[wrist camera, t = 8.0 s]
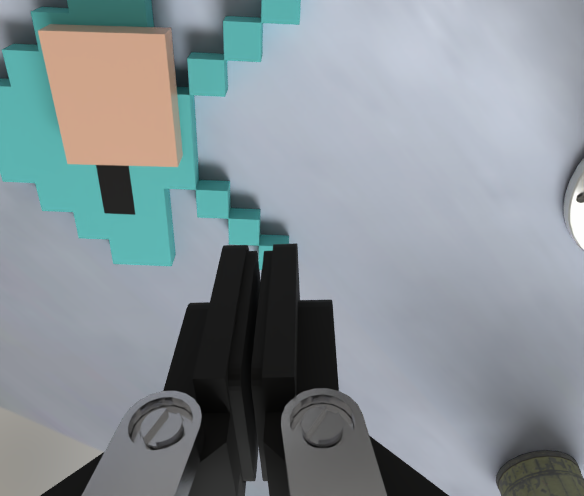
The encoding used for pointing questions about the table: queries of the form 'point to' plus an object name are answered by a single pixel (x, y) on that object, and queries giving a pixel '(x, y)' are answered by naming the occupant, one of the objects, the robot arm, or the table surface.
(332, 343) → the robot arm
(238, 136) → the table surface
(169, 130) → the terracotta tile
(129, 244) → the alien figure
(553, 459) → the thermos
